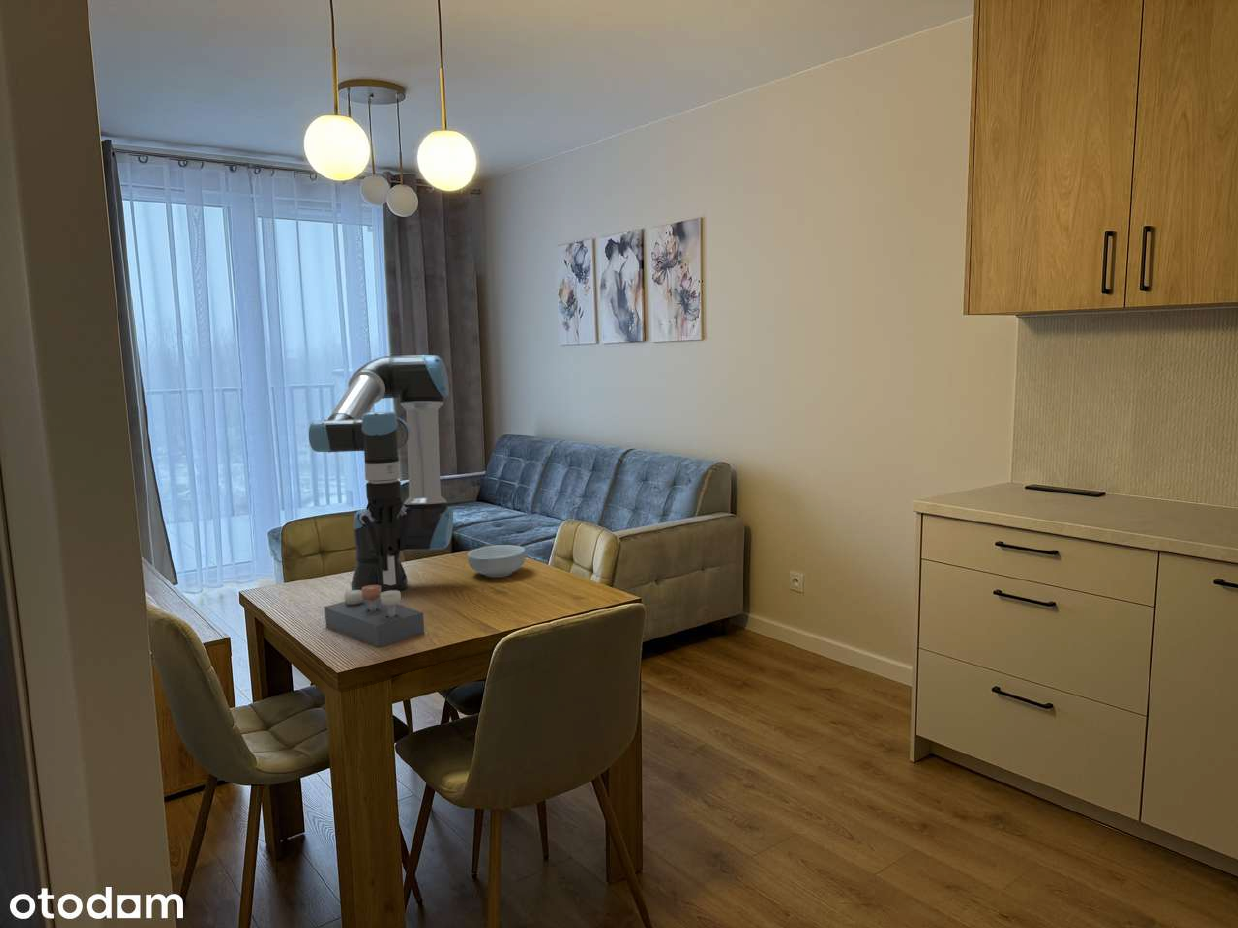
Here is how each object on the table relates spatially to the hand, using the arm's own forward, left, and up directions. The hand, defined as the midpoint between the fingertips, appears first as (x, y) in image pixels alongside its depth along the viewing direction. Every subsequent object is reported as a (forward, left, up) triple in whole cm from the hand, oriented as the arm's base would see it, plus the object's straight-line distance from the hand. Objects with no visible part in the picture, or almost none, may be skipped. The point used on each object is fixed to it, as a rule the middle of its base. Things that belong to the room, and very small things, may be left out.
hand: (389, 583), depth 186 cm
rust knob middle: (0, -8, -10) cm, 13 cm away
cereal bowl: (-51, -24, -13) cm, 58 cm away
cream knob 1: (0, -16, -12) cm, 20 cm away
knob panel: (0, -8, -13) cm, 15 cm away
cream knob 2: (0, 0, -10) cm, 10 cm away
